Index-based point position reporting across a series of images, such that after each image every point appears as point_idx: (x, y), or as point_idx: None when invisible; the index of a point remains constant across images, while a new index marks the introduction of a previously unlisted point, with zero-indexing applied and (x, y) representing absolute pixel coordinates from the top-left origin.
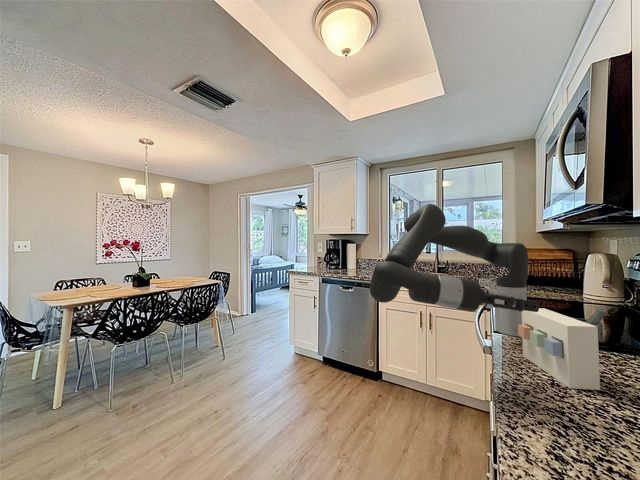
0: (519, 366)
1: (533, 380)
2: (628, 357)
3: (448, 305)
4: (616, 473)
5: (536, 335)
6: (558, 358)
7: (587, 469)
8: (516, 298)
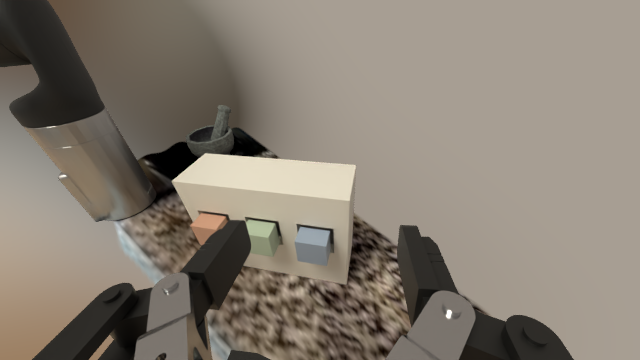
0: (248, 305)
1: (311, 329)
2: (272, 156)
3: None
4: None
5: (265, 239)
6: None
7: None
8: (470, 331)
